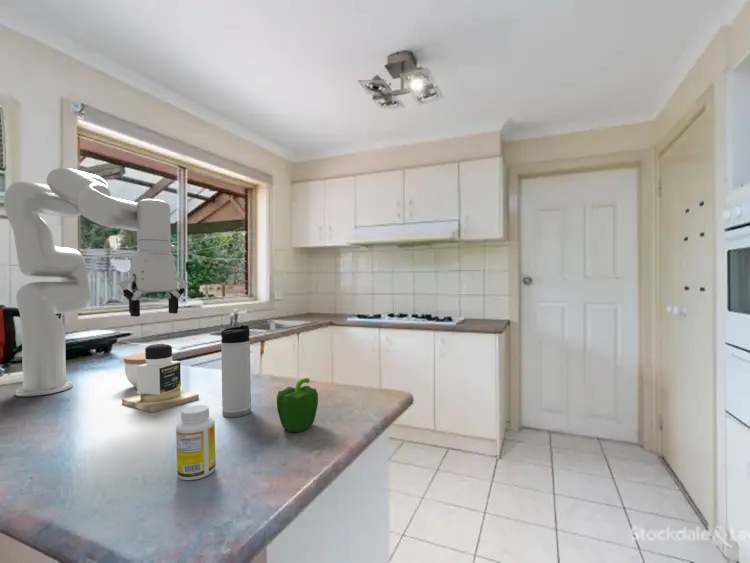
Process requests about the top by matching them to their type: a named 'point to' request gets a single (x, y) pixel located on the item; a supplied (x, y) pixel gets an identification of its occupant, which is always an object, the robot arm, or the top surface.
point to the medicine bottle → (158, 371)
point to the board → (159, 404)
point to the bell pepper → (297, 406)
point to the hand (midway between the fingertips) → (154, 314)
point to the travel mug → (236, 371)
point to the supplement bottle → (195, 443)
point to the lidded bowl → (134, 366)
